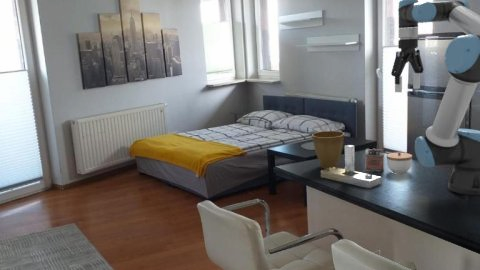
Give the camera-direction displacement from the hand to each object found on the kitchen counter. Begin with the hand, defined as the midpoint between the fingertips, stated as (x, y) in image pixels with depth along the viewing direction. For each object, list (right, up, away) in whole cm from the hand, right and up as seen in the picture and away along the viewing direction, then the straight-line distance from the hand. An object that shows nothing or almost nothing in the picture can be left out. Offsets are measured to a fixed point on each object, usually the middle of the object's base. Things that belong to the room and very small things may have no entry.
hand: (407, 90), depth 202 cm
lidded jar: (+1, -35, +12) cm, 37 cm away
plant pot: (-28, -34, +28) cm, 52 cm away
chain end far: (-26, -37, +9) cm, 46 cm away
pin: (-23, -38, +5) cm, 45 cm away
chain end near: (-20, -38, +1) cm, 43 cm away
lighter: (-9, -35, +17) cm, 40 cm away
